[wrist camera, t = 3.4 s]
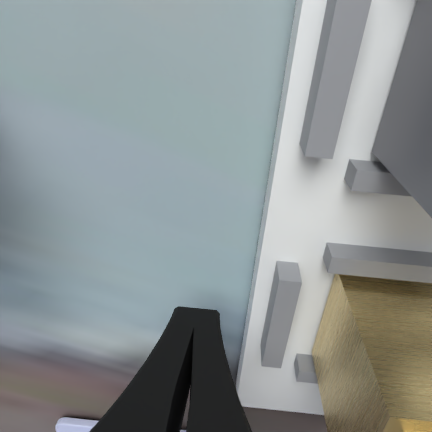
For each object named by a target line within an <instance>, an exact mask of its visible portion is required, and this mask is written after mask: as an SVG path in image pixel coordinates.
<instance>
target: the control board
mask: <svg viewBox="0 0 432 432" xmlns="http://www.w3.org/2000/svg"><path fill="white" fill-rule="evenodd" d="M416 1H417V0H296V6H295V12H294V18H293V25H292V31H291V37H290V44H289V50H288V56H287V63H286V69H285V75H284V82H283V88H282V94H281V101H280V107H279V113H278V120H277V126H276V132H275V139H274V145H273V151H272V158H271V164H270V170H269V177H268V183H267V189H266V196H265V202H264V208H263V215H262V221H261V227H260V234H259V240H258V246H257V253H256V259H255V265H254V272H253V278H252V284H251V291H250V297H249V303H248V310H247V316H246V322H245V329H244V335H243V341H242V348H241V354H240V360H239V367H238V373H237V379H236V391H237V394H238V397H239V400H240V402H241V405H242V406H244V407H253V408H263V409H272V410H281V411H291V412H300V413H310V414H319V415H324V411H323V406H322V401H321V396H320V391H319V386H318V381H317V376H316V371H315V366H314V361H313V356H312V348H313V345H314V342H315V338H316V335H317V332H318V328H319V325H320V322H321V318H322V315H323V312H324V308H325V305H326V302H327V298H328V295H329V292H330V288H331V285H332V282H333V278H334V275H335V274H342V275H352V276H363V277H373V278H383V279H393V280H403V281H413V282H423V283H432V218H431V217H430V216H429V215H428V213H427V212H426V211H425V210H424V209H423V208H422V207H421V206H420V205H419V203H418V202H417V201H416V200H415V199H414V198H413V197H412V196H411V195H410V194H409V192H408V191H407V190H406V189H405V188H404V187H403V186H402V185H401V184H400V183H399V181H398V180H397V179H396V178H395V177H394V176H393V175H392V174H391V173H390V172H389V170H388V169H387V168H386V167H385V166H384V165H383V164H382V163H381V162H380V161H379V159H378V158H377V157H376V156H375V155H374V154H373V153H372V148H373V145H374V142H375V138H376V135H377V132H378V128H379V125H380V122H381V118H382V115H383V112H384V108H385V105H386V102H387V98H388V95H389V92H390V88H391V85H392V82H393V78H394V75H395V71H396V68H397V65H398V61H399V58H400V55H401V51H402V48H403V45H404V41H405V38H406V35H407V31H408V28H409V25H410V21H411V18H412V15H413V11H414V8H415V5H416Z"/></svg>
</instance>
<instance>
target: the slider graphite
mask: <svg viewBox="0 0 432 432" xmlns="http://www.w3.org/2000/svg"><path fill="white" fill-rule="evenodd" d="M372 153H373V154H374V155H375V156H376V157H377V158H378V159H379V161H380V162H381V163H382V164H383V165H384V166H385V167H386V168H387V169H388V170H389V172H390V173H391V174H392V175H393V176H394V177H395V178H396V179H397V180H398V181H399V183H400V184H401V185H402V186H403V187H404V188H405V189H406V190H407V191H408V192H409V194H410V195H411V196H412V197H413V198H414V199H415V200H416V201H417V202H418V203H419V205H420V206H421V207H422V208H423V209H424V210H425V211H426V212H427V213H428V215H429V216H430V217H431V218H432V0H417V1H416V5H415V8H414V11H413V15H412V18H411V21H410V25H409V28H408V31H407V35H406V38H405V41H404V45H403V48H402V51H401V55H400V58H399V61H398V65H397V68H396V71H395V75H394V78H393V82H392V85H391V88H390V92H389V95H388V98H387V102H386V105H385V108H384V112H383V115H382V118H381V122H380V125H379V128H378V132H377V135H376V138H375V142H374V145H373V148H372Z"/></svg>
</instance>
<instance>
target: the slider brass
mask: <svg viewBox="0 0 432 432" xmlns="http://www.w3.org/2000/svg"><path fill="white" fill-rule="evenodd" d="M312 356H313V361H314V366H315V371H316V376H317V381H318V386H319V391H320V396H321V401H322V406H323V411H324V416H325V421H326V426H327V431H328V432H432V283H423V282H413V281H403V280H393V279H383V278H373V277H363V276H352V275H342V274H335V275H334V278H333V282H332V285H331V288H330V292H329V295H328V298H327V302H326V305H325V308H324V312H323V315H322V318H321V322H320V325H319V328H318V332H317V335H316V338H315V342H314V345H313V348H312Z"/></svg>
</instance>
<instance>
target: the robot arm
mask: <svg viewBox="0 0 432 432" xmlns="http://www.w3.org/2000/svg"><path fill="white" fill-rule="evenodd" d="M190 385H191V387H190ZM189 389H190V408H189V414H188V421H187V428H186V430H181V425H182V421H183V416H184V412H185V407H186V403H187V398H188V394H189ZM55 428H56V432H252V430H251V428H250V425H249V423H248V421H247V418H246V416H245V413H244V410H243V408H242V405H241V402H240V400H239V397H238V394H237V391H236V388H235V385H234V382H233V379H232V376H231V372H230V369H229V365H228V362H227V358H226V354H225V350H224V345H223V340H222V335H221V329H220V313H219V312H218V311H217V310H209V309H199V308H189V307H177V308H175V309H174V312H173V314H172V317H171V319H170V321H169V323H168V325H167V327H166V329H165V330H164V332H163V334H162V336H161V337H160V339H159V341H158V342H157V344H156V346H155V347H154V349H153V350H152V352H151V354H150V355H149V357H148V358H147V360H146V361H145V363H144V364H143V366H142V367H141V368H140V370H139V371H138V373H137V374H136V375H135V377H134V378H133V380H132V381H131V382H130V384H129V385H128V386H127V388H126V389H125V390H124V392H123V393H122V394H121V395H120V397H119V398H118V399H117V400H116V402H115V403H114V404H113V405H112V406H111V408H110V409H109V410H108V411H107V412H106V414H105V415H104V416H103V417H102V418H101V419H100V420H99V421H97V420H87V419H78V418H69V417H63V418H60V419H59V420H58V422H57V424H56V427H55Z"/></svg>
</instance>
